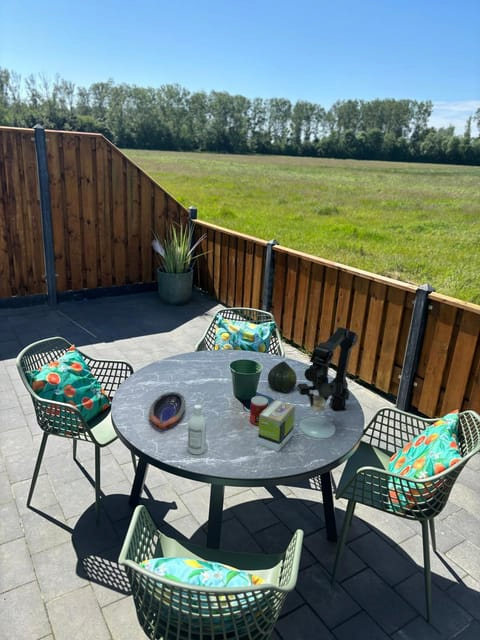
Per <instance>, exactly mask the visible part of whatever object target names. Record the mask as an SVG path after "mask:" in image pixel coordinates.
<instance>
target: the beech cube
mask: <svg viewBox="0 0 480 640" xmlns="http://www.w3.org/2000/svg"><path fill="white" fill-rule="evenodd" d="M325 401H326V400H325V399H324V397H320V396H319V394H314V396H313V405H312V406H311V405H310V404H309V406H310V408H311V409H312V411H313V412H319V411H321V412H322V411H323V412H324V411H325V408H326V403H325ZM326 402H327V401H326Z"/></svg>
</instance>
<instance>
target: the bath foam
mask: <svg viewBox="0 0 480 640" xmlns="http://www.w3.org/2000/svg"><path fill="white" fill-rule="evenodd" d="M187 429H188V430H187V431H188V433H187V434H188V437H187V439H188V440H187V441H188V442H187V447H188V448H187V450H188V452H189V453H190V454H193V455H201V454H204V453H205V451H206V443H207V442H206V439H207V438H206V436H207V433H206V432H207V422H206V418H205V417H204V416H203V414H202V405H201V404H195V405H194V406H193V414H192V415H191V417H190V419H189V420H188V427H187Z"/></svg>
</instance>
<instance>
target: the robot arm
mask: <svg viewBox="0 0 480 640" xmlns="http://www.w3.org/2000/svg"><path fill="white" fill-rule="evenodd" d="M358 340H359V335H358V334H357V331H356V332H355V331H351V330H350V329H348V328H345V327H342V326H338V327H337V328H336V331H335V332H333V334H332V335H331V336H329V338H328V339H327V340H326V341H325V342H320V343H319V344H318V345H316V346H315V347H314V349H313V352H312V354H311V356H310V359H309V363H312V364H310V365H309V367H308V368H307V369H305V370H304V377H305V379H306V380H307V381H308V382H311V383H312V384H311V385H312V386H311V385H308V383H305V382H304V383H298V384H297V386H296V390H297V391H298V394H299V395H300V396H307V397H308V401H309V406H310V405H311V406H312V405H313V396H314V395H315V394H314V392H315V391H317V392H318V395H319V396H320V397H324V399H325V400H326V401H325V404H326V403H327V401H328V399H329V398H330V401H329V404H328V405H329V407H330V408H331V409H332V411H333V412H339V411H341V412H342V411H346V410H347V408H346V402H347V401H348V400H349V399H350V395H351V394H350V391H349V389H348V387H349V384H348V381H347V373H348V367H349V362H350V356H351V352H352V350H353V348H354V347H355V346H356V344H357V342H358ZM338 346H339V347H340V349H339V350H340V351H339V357H338V362H337V367H336V372H335V376H334V379H332V380H331V381H330V382H329V378H328V375H329V369H330V368H329V367H330V365H331V362H332V360H333V358H334V354H335V350H336V349H337V348H338ZM311 406H310V407H311Z"/></svg>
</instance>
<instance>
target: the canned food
mask: <svg viewBox="0 0 480 640" xmlns="http://www.w3.org/2000/svg"><path fill="white" fill-rule="evenodd" d="M250 400H251V401H250V411H249V414H250V416H249V421H250V423H251V424H252V425H253V426H256V427H259V415H260V414H261V413H262V412H263V411H264V410H265V409H266V408H267V407H268V406H269V399H268V398H267V397H264V396H261V395H260V396H259V395H255V396H254V397H252V398H251V399H250Z"/></svg>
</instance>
